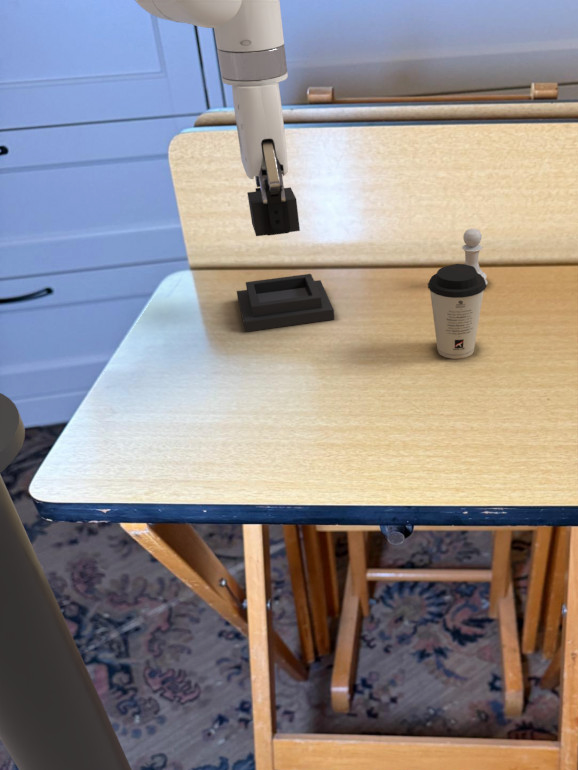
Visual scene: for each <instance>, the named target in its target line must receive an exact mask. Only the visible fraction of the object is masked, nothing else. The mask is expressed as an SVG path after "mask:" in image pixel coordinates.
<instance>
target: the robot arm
mask: <svg viewBox="0 0 578 770" xmlns="http://www.w3.org/2000/svg"><path fill="white" fill-rule="evenodd" d="M134 1H135V3H137V5H138V6H139V7H140V8H142V9H143V10H144V11H146V12H147V13H148V14H150V15H152V16H154V17H156V18H159V19H162V20H166V21H170V22H175V23H181V24H188V25H191V26H194V27H195V26H196V27H200V28H206V29H213V30H214V37H215V43H216V48H217V49H216V50H217V56H218V57H217V58H218V62H219V69H220V74H221V81H222V83H223V84H225V85H228V86H231V93H232V101H233V110H234V116H235V123H236V131H237V137H238V144H239V152H240V154H239V155H240V160H241V164H242V167H243V169H244V172H245V174H246V177H248V179H250V180H254V179H255V185H256V187H255V191H261V194H262V200H263V202H261V209H262V216H263V223H264V230H265V234H266V235H265V236H268V237H269V236H276V235H285V234H290V233H291V232H290V222H289V214H288V206H287V199H285V192H284V188H285V186H284V185H285V184H284V179H283V177H284V176H286V175H287V173H288V170H289V169H288V156H287V142H286V132H285V125H284V124H285V123H284V114H283V106H282V99H281V91H280V84H279V83H280V82H283V81H286V80H287V79H288V78H289V75H288V66H287V65H288V64H287V55H286V47H285V39H284V30H283V29H284V27H283V20H282V9H281V2H280V0H134Z"/></svg>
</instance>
